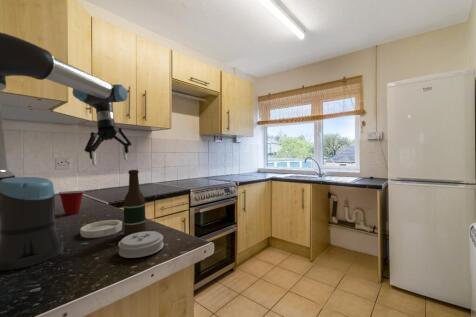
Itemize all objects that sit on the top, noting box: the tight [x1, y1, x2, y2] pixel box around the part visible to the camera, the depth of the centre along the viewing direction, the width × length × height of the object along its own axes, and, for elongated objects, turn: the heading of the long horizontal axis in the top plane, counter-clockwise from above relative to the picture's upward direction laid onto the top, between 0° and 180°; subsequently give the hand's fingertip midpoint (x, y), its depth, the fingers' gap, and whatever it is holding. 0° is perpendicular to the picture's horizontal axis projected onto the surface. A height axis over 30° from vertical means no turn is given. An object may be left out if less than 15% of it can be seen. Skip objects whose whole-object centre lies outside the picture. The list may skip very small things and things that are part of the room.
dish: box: [79, 219, 123, 239], centre depth 86 cm, size 14×14×2 cm
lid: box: [117, 230, 164, 259], centre depth 68 cm, size 13×13×5 cm
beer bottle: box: [123, 169, 147, 237], centre depth 83 cm, size 8×8×24 cm
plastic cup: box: [58, 190, 85, 216], centre depth 115 cm, size 11×11×12 cm
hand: (110, 162), depth 105 cm, fingers open, 13 cm apart
